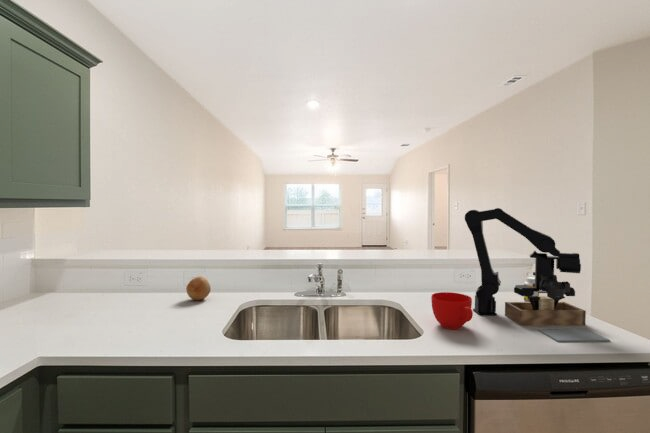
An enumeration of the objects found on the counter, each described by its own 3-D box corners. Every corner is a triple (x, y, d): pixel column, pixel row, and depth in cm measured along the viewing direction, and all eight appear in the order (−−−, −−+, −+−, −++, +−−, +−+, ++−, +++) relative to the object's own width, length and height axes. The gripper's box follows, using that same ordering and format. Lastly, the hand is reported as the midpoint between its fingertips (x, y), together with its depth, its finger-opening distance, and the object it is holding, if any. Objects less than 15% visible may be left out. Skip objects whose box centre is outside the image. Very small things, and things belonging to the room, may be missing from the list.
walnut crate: (521, 325, 124) (521, 311, 124) (504, 315, 135) (505, 302, 135) (585, 325, 124) (585, 310, 124) (563, 315, 135) (564, 301, 135)
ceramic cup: (452, 339, 112) (453, 306, 112) (423, 321, 128) (424, 293, 128) (488, 334, 115) (489, 303, 115) (455, 318, 132) (456, 291, 131)
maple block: (540, 322, 127) (541, 299, 127) (533, 318, 132) (533, 296, 131) (553, 322, 127) (554, 299, 127) (545, 318, 132) (546, 296, 131)
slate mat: (557, 341, 109) (557, 340, 109) (537, 330, 119) (537, 328, 119) (610, 341, 110) (610, 340, 110) (586, 329, 120) (586, 328, 120)
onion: (187, 297, 160) (186, 275, 160) (210, 296, 163) (210, 274, 163) (185, 303, 151) (185, 279, 151) (210, 301, 154) (210, 278, 154)
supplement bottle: (520, 301, 154) (521, 277, 154) (531, 299, 156) (531, 276, 156) (531, 304, 149) (532, 279, 149) (542, 303, 151) (542, 278, 150)
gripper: (531, 275, 121) (530, 322, 121) (587, 275, 121) (586, 321, 121) (513, 269, 132) (512, 312, 132) (564, 269, 132) (563, 311, 133)
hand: (543, 314), depth 129 cm, fingers closed on maple block, 4 cm apart
